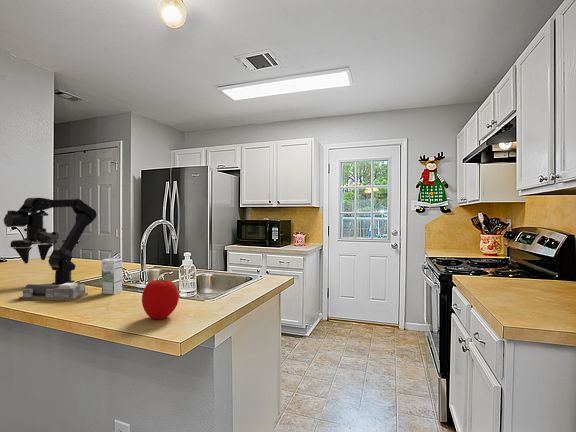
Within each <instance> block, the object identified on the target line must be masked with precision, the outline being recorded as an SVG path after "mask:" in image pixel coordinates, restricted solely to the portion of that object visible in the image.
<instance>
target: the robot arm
mask: <svg viewBox="0 0 576 432" xmlns="http://www.w3.org/2000/svg"><path fill="white" fill-rule="evenodd" d="M54 208H71V209H72V211H73V213H74V214H76V215H75V223H74V225H73V227H72V228H71V230H70V231H69V233H68V235H67V236H66V238H65V240H64V241H63V244H62V245H61V247H60V248H59V249H53V250H52V252H51V254H50V255H49V256H48V261H47V262H48V265H49V266H50V269H52V271H55V274H54V282H52V283H51V285H61V284H65V283H75V280H74V279H73V280H72V271H75V269H76V264H75V263H73V262H72V258H73V253H72V252H73V251H74V248H75V247H76V245H77V243H78V241H79V240H80V238H81V236H82V235H83V233H84V231H85V229H86V228H87V226H89V225H90V224H92V223H93V222H94V220H95V219H96V218H97V216H98V214H97V211H96V210H95V209H94V208H93V207H91V206H90V205H88V204H87V203H85V202H84V201H83V200H81V199H80V198H70V199H63V198H62V199H50V198H46V197H45V198H44V197H27V198H26V199H25V200H24V202H23V204H22V205H21V206H20V208H19V209H18V210H7V213H6V214H5V216H4V218H3V224H4V225H5V227H7V228H17V227H18V228H20V227H21V228H23V227H26V228H23V232H26V237H24V238H23V239H15V240H12V241H11V242H10V248H12V249H13V250H14V251H15V252H16V253H17V254H18V255H19V257H20V258H21V260H22V261H23V263H24V264H27V265H28V263H29V259H30V258H29V257H30V256H29V255H30V251H31V250H32V249H33V247H31V246H32V245H37V249H38V252H39V256H40V259H41V261H45V259H46V257H47V254H48V253H49V250H50V249H51V248H52V247H53V246H55V244H57V243H58V241H57V240H59V239H60V238H59V237H60V236H59V235H60V234H59V232H58V231H52V232H47V229H46V228H45V227H44V217H45V216H46V217H47V216H49V213H48V212H46V210H49V209H54Z"/></svg>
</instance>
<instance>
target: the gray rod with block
mask: <svg viewBox="0 0 576 432" xmlns="http://www.w3.org/2000/svg"><path fill="white" fill-rule="evenodd" d="M78 284H79V283H78V282H71V283H65V284H36V283H35V284H33V283H29V284H27V285H25V286H24V288H23V289H33V295H46V290H47V289H54V288H73V287H76V286H78Z"/></svg>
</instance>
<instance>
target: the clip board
mask: <svg viewBox="0 0 576 432" xmlns="http://www.w3.org/2000/svg"><path fill="white" fill-rule="evenodd" d="M88 295H89V292H86V283H84V284H83V283H78V286H76V287H73V288H54V289H47V290H46V295H33V289H24V288H23V289H22V296H19V297H18V301H40V300H65V301H64V302H75V301H77V300H79V299H81V298H83V297H86V296H88Z"/></svg>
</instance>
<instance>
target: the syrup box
mask: <svg viewBox="0 0 576 432" xmlns="http://www.w3.org/2000/svg"><path fill="white" fill-rule="evenodd" d="M122 292H123V258H121V257H120V258H116V257H115V258H114V257H110V258H109V257H108V258H104V259H101V295H117V294H119V293H122Z"/></svg>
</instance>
